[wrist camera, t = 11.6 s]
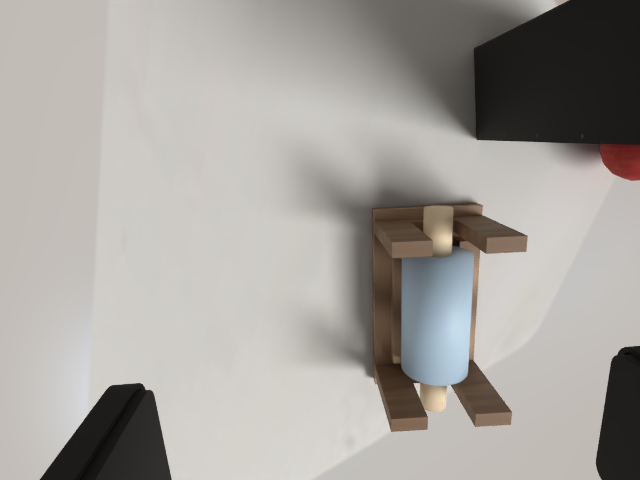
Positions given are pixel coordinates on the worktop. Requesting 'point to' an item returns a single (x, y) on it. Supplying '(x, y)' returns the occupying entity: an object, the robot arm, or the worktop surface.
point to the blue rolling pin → (437, 311)
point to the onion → (622, 160)
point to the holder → (388, 250)
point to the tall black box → (563, 77)
